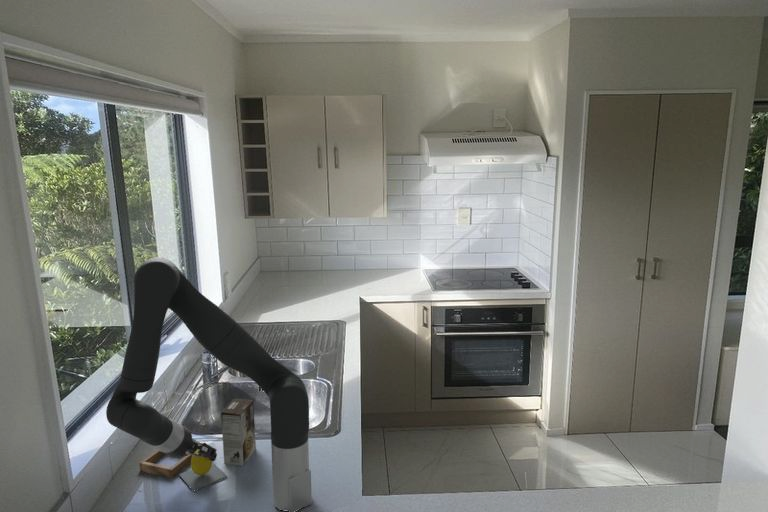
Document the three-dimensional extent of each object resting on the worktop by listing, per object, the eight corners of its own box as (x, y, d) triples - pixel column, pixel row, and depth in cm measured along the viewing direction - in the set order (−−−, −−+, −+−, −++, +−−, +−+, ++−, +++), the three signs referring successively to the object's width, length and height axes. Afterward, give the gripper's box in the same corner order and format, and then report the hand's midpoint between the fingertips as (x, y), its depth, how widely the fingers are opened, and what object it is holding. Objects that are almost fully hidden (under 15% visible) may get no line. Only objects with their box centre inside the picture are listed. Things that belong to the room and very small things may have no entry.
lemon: (195, 484, 144) (193, 456, 143) (189, 474, 149) (187, 447, 147) (215, 476, 147) (214, 450, 146) (209, 467, 152) (207, 441, 150)
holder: (197, 456, 158) (197, 449, 158) (172, 478, 148) (171, 469, 147) (166, 450, 161) (166, 443, 161) (139, 470, 151) (139, 462, 151)
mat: (227, 477, 148) (227, 475, 148) (193, 491, 142) (193, 490, 142) (212, 462, 155) (211, 461, 155) (178, 475, 149) (178, 474, 149)
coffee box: (236, 447, 163) (233, 397, 160) (256, 449, 162) (254, 399, 159) (223, 463, 154) (219, 411, 151) (244, 466, 153) (241, 413, 150)
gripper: (199, 426, 134) (228, 445, 147) (152, 418, 138) (185, 437, 151) (187, 457, 130) (218, 473, 143) (139, 447, 134) (173, 464, 147)
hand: (201, 454), depth 147 cm, fingers open, 8 cm apart
